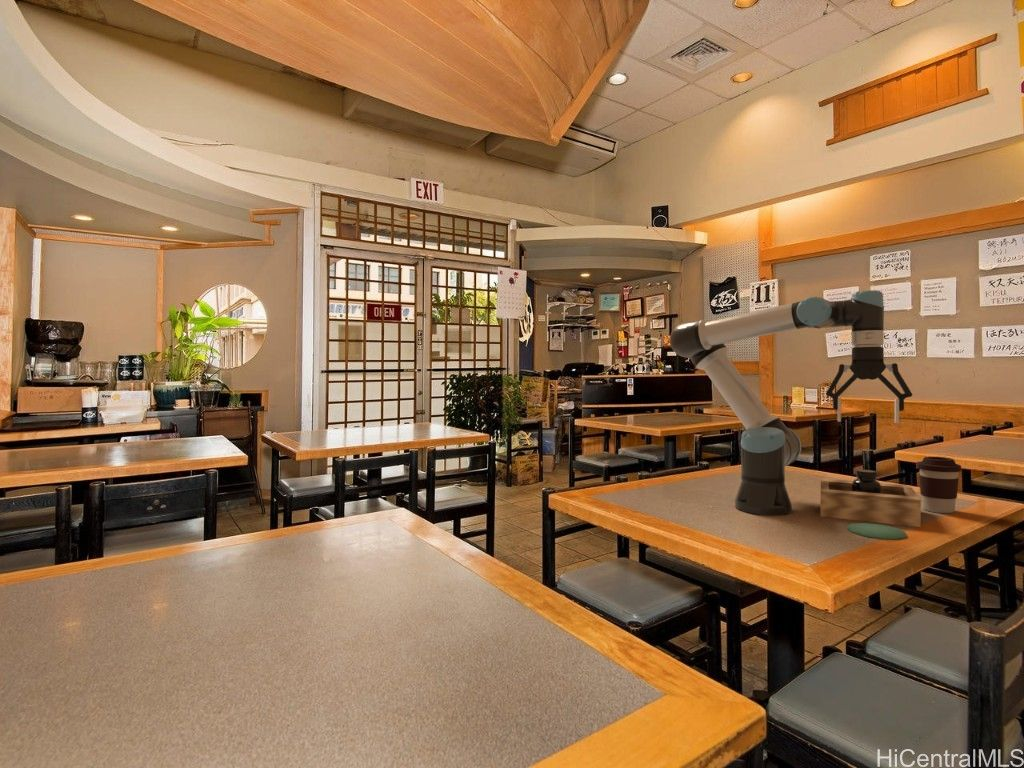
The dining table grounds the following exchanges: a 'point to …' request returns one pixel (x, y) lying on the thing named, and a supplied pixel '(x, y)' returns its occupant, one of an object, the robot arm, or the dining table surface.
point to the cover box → (871, 503)
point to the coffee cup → (938, 483)
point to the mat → (876, 531)
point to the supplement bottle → (866, 482)
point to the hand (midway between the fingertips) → (867, 422)
